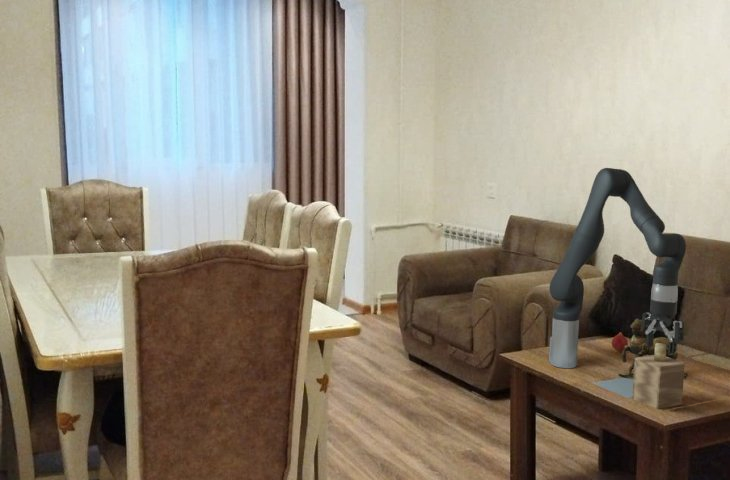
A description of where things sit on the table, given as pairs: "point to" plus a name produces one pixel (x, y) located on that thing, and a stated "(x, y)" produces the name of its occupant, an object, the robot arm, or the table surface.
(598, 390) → the table surface
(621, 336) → the onion
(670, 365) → the cover
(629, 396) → the mat
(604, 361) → the table surface
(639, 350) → the figurine
